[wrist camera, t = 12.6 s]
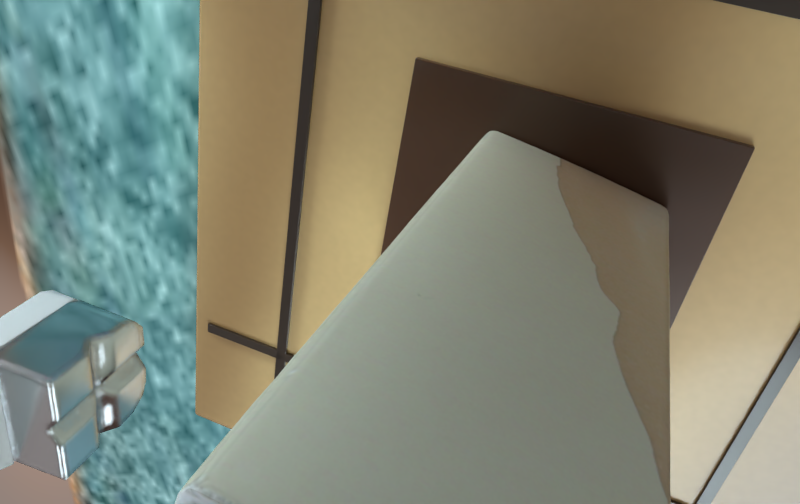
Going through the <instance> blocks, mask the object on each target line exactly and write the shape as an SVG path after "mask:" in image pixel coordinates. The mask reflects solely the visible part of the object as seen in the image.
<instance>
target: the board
mask: <svg viewBox="0 0 800 504" xmlns="http://www.w3.org/2000/svg"><path fill="white" fill-rule="evenodd" d="M489 131H498V132H500V133H503V134H505V135H508V136H510V137H513V138H515V139H517V140H520V141H522V142H524V143H527V144H529V145H531V146H534V147H536V148H538V149H541V150H543V151H545V152H548V153H550V154H552V155H555V156H557V157H559V158H562V159H564V160H566V161H568V162H570V163H572V164H575V165H577V166H579V167H582V168H584V169H586V170H588V171H590V172H593V173H595V174H597V175H599V176H602V177H604V178H606V179H608V180H610V181H612V182H614V183H616V184H618V185H620V186H623V187H625V188H627V189H629V190H631V191H633V192H635V193H638V194H640V195H642V196H644V197H646V198H648V199H650V200H652V201H654V202H656V203H658V204H660V205H662V206H663V207H665V208H666V209H667V210H668V214H669V279H670V490H671V504H800V0H200V34H199V129H198V224H197V319H196V414H197V415H199V416H201V417H203V418H206V419H208V420H211V421H213V422H215V423H218V424H220V425H223V426H225V427H227V428H230V429H232V428H233V427H234V426H235V424H236V423H237V422H238V421H239V420H240V419H241V417H242V416H243V415H244V414H245V412H246V411H247V410H248V409H249V408H250V406H251V405H252V404H253V403H254V402H255V401H256V399H257V398H258V397H259V396H260V395H261V394H262V393H263V392H264V390H265V389H266V388H267V387H268V386H269V385H270V384H271V383H272V382H273V380H274V379H275V378H276V377H277V376H278V375H279V373H280V372H281V371H282V370H283V369H284V367H285V366H286V365H287V364H288V363H289V361H290V360H291V359H292V358H293V357H294V355H295V354H296V353H297V352H298V351H299V350H300V349H301V348H302V346H303V345H304V344H305V343H306V342H307V341H308V340H309V338H310V337H311V336H312V335H313V334H314V332H315V331H316V330H317V329H318V328H319V327H320V325H321V324H322V323H323V322H324V321H325V319H326V318H327V317H328V316H329V315H330V314H331V312H332V311H333V310H334V309H335V308H336V307H337V306H338V304H339V303H340V302H341V301H342V300H343V299H344V298H345V297H346V295H347V294H348V293H349V292H350V291H351V290H352V288H353V287H354V286H355V285H356V284H357V283H358V281H359V280H360V279H361V278H362V277H363V276H364V274H365V273H366V272H367V271H368V270H369V269H370V267H371V266H372V265H373V264H374V263H375V262H376V260H377V259H378V258H379V257H380V256H381V255H382V254H383V252H384V251H385V250H386V249H387V248H388V247H389V246H390V244H391V243H392V242H393V241H394V240H395V238H396V237H397V236H398V235H399V234H400V232H401V231H402V230H403V229H404V228H405V227H406V225H407V224H408V223H409V222H410V221H411V219H412V218H413V217H414V216H415V215H416V214H417V212H418V211H419V210H420V209H421V208H422V207H423V205H424V204H425V203H426V202H427V201H428V200H429V199H430V197H431V196H432V195H433V194H434V193H435V192H436V190H437V189H438V188H439V187H440V186H441V185H442V184H443V183H444V182H445V180H446V179H447V178H448V177H449V176H450V174H451V173H452V172H453V171H454V170H455V169H456V168H457V167H458V165H459V164H460V163H461V162H462V161H463V160H464V158H465V157H466V156H467V155H468V154H469V153H470V151H471V150H472V149H473V148H474V147H475V146H476V144H477V143H478V142H479V141H480V140H481V139H482V138H483V137H484V135H485V134H486V133H488V132H489Z"/></svg>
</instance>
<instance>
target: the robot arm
mask: <svg viewBox="0 0 800 504" xmlns="http://www.w3.org/2000/svg"><path fill="white" fill-rule="evenodd" d="M143 345H144V337H143V327H142V326H141V325H139V324H138V323H136V322H135V321H132V320H130V319H127V318H124V317H122V316H119V315H117V314H114V313H112V312H109V311H107V310H104V309H101V308H99V307H96V306H94V305H91V304H89V303H86V302H84V301H81V300H77V299H74V298H72V297H69V296H67V295H64V294H61V293H59V292H56V291H54V290H50V291H43V292H39V293H38V294H36V295H35V296H33V297H32V298H30V299H29V300H27V301H25V302H24V303H22V304H21V305H19V306H18V307H16V308H15V309H13V310H11V311H10V312H8V313H7V314H5V315H4V316H2V317H1V318H0V470H1V469H3V468H6V467H8V466H10V465H12V464H13V463H14V462H13V460H14V461H17V462H19V463H22V464H24V465H27V466H30V467H33V468H35V469H37V470H40V471H42V472H45V473H48V474H50V475H53V476H56V477H58V478H60V479H63V480H66V479H67V478H68V477H69V476H70V475H71V474H72V473H73V472H74V471H75V470H76V469H77V468H78V467H80V466H81V465H82V464H83V463H84V462H85V461H86V460H87V459H88V458H89V457H90V456H91V455H92V454H93V453H94V452H95V451H96V450H97V449H98V448H99V440H100V433H102V432H105V431H108V430H111V429H114V428H117V427H119V426H121V425H122V424H123V422H124V421H125V420H126V419H127V418H128V417H129V416H130V415H131V414H132V413H133V412H134V410H135V408H136V406H137V404H138V403H139V401H140V399H141V397H142V395H143V392H144V387H145V383H146V368H145V366H144V364H143V363H142V361H141V360H140V358H139V356H138V355H137V353H136V352H137V351H138V350H139V349H140V348H141V347H142V346H143Z"/></svg>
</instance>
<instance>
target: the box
mask: <svg viewBox="0 0 800 504" xmlns="http://www.w3.org/2000/svg"><path fill="white" fill-rule="evenodd" d="M175 504H671V490H670V279H669V214H668V210H667V209H666V208H665V207H663V206H662V205H660V204H658V203H656V202H654V201H652V200H650V199H648V198H646V197H644V196H642V195H640V194H638V193H635V192H633V191H631V190H629V189H627V188H625V187H623V186H620V185H618V184H616V183H614V182H612V181H610V180H608V179H606V178H604V177H602V176H599V175H597V174H595V173H593V172H590V171H588V170H586V169H584V168H582V167H579V166H577V165H575V164H572V163H570V162H568V161H566V160H564V159H562V158H559V157H557V156H555V155H552V154H550V153H548V152H545V151H543V150H541V149H538V148H536V147H534V146H531V145H529V144H527V143H524V142H522V141H520V140H517V139H515V138H513V137H510V136H508V135H505V134H503V133H500V132H498V131H489V132H488V133H486V134H485V135H484V137H483V138H482V139H481V140H480V141H479V142H478V143H477V144H476V146H475V147H474V148H473V149H472V150H471V151H470V153H469V154H468V155H467V156H466V157H465V158H464V160H463V161H462V162H461V163H460V164H459V165H458V167H457V168H456V169H455V170H454V171H453V172H452V173H451V174H450V176H449V177H448V178H447V179H446V180H445V182H444V183H443V184H442V185H441V186H440V187H439V188H438V189H437V190H436V192H435V193H434V194H433V195H432V196H431V197H430V199H429V200H428V201H427V202H426V203H425V204H424V205H423V207H422V208H421V209H420V210H419V211H418V212H417V214H416V215H415V216H414V217H413V218H412V219H411V221H410V222H409V223H408V224H407V225H406V227H405V228H404V229H403V230H402V231H401V232H400V234H399V235H398V236H397V237H396V238H395V240H394V241H393V242H392V243H391V244H390V246H389V247H388V248H387V249H386V250H385V251H384V252H383V254H382V255H381V256H380V257H379V258H378V259H377V260H376V262H375V263H374V264H373V265H372V266H371V267H370V269H369V270H368V271H367V272H366V273H365V274H364V276H363V277H362V278H361V279H360V280H359V281H358V283H357V284H356V285H355V286H354V287H353V288H352V290H351V291H350V292H349V293H348V294H347V295H346V297H345V298H344V299H343V300H342V301H341V302H340V303H339V304H338V306H337V307H336V308H335V309H334V310H333V311H332V312H331V314H330V315H329V316H328V317H327V318H326V319H325V321H324V322H323V323H322V324H321V325H320V327H319V328H318V329H317V330H316V331H315V332H314V334H313V335H312V336H311V337H310V338H309V340H308V341H307V342H306V343H305V344H304V345H303V346H302V348H301V349H300V350H299V351H298V352H297V353H296V354H295V355H294V357H293V358H292V359H291V360H290V361H289V363H288V364H287V365H286V366H285V367H284V369H283V370H282V371H281V372H280V373H279V375H278V376H277V377H276V378H275V379H274V380H273V382H272V383H271V384H270V385H269V386H268V387H267V388H266V389H265V390H264V392H263V393H262V394H261V395H260V396H259V397H258V398H257V399H256V401H255V402H254V403H253V404H252V405H251V406H250V408H249V409H248V410H247V411H246V412H245V414H244V415H243V416H242V417H241V419H240V420H239V421H238V422H237V423H236V424H235V426H234V427H233V428H232V429H231V430H230V431H229V433H228V434H227V435H226V436H225V437H224V438H223V440H222V441H221V442H220V443H219V444H218V445H217V447H216V448H215V449H214V450H213V452H212V453H211V454H210V455H209V456H208V458H207V459H206V460H205V461H204V463H203V464H202V465H201V466H200V468H199V469H198V470H197V471H196V472H195V473H194V475H193V476H192V477H191V478H190V479H189V480H188V482H187V483H186V484H185V485H184V487H183V488H182V489H181V491H180V492H179V493H178V496H177V499H176V502H175Z"/></svg>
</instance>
